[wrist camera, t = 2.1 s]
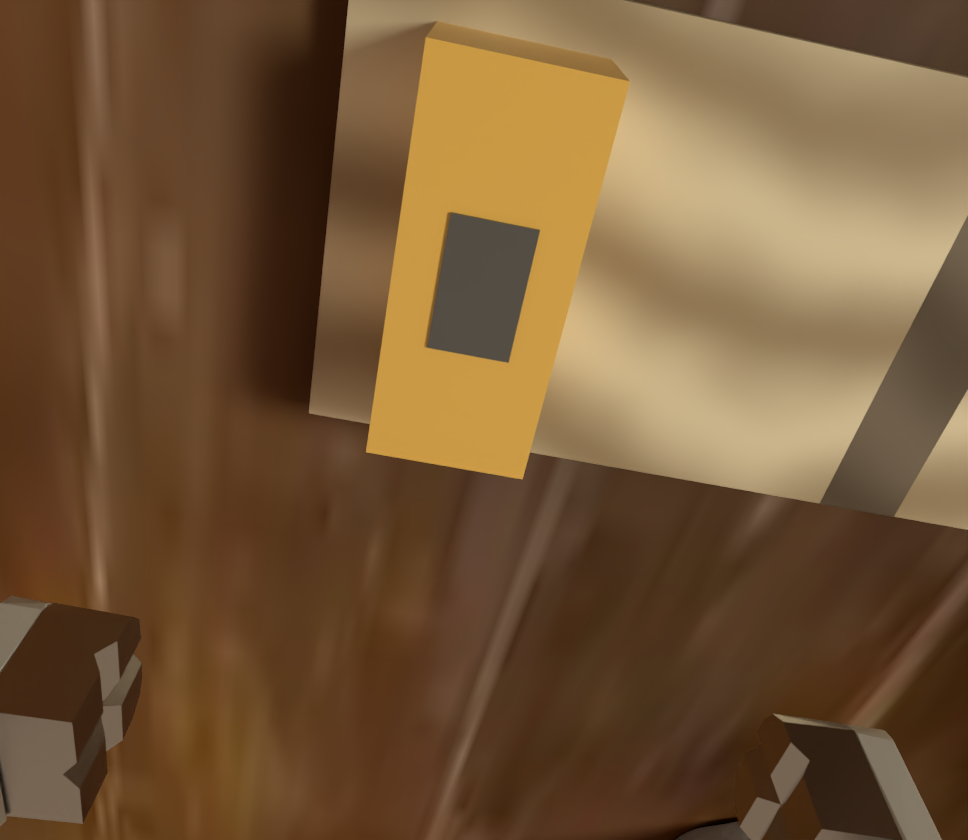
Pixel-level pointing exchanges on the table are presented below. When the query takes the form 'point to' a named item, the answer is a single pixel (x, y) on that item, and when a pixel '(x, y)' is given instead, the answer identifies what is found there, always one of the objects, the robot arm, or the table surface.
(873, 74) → the plywood panel
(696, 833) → the pillar candle
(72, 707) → the robot arm
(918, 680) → the table surface
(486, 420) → the block
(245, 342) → the table surface
